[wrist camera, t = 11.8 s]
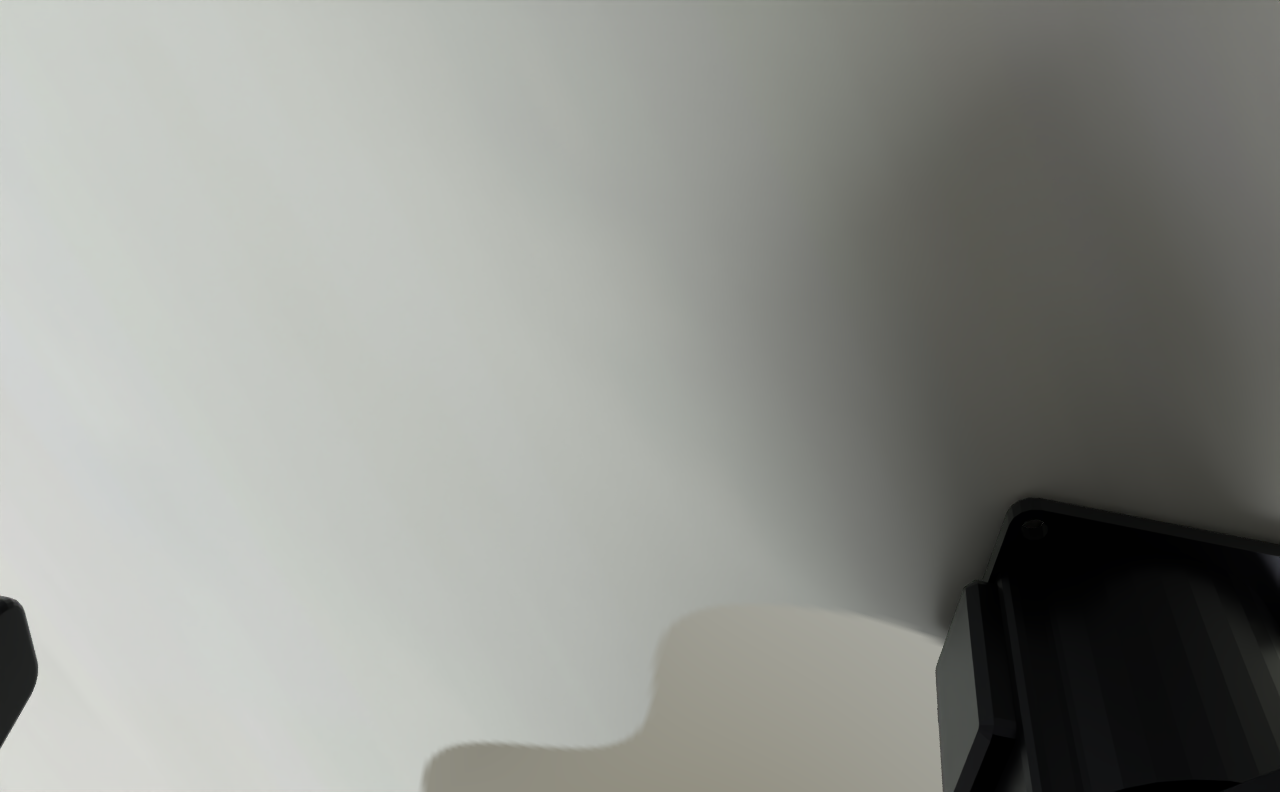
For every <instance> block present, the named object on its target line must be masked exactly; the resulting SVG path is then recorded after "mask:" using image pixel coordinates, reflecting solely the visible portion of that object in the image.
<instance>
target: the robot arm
mask: <svg viewBox="0 0 1280 792" xmlns="http://www.w3.org/2000/svg"><path fill="white" fill-rule="evenodd" d="M1029 520H1040V521H1042V522H1044V523H1043V524H1042V525H1041V526H1038V527H1036V528H1027V527H1025V526H1023V524H1024V523H1025V522H1027V521H1029ZM37 676H38V662H37V658H36V654H35V650H34V646H33V642H32V638H31V634H30V630H29V626H28V623H27V619H26V615H25V611H24V609H23V607H22V605H21V604H20V603H19V602H18V601H17V600H15V599H12V598H9V597H4V596H0V748H1V747H2V745H3V743H4V741H5V740H6V738H7V736H8V734H9V733H10V731H11V729H12V727H13V726H14V724H15V722H16V720H17V719H18V717H19V715H20V713H21V712H22V710H23V708H24V707H25V705H26V703H27V701H28V700H29V698H30V696H31V694H32V692H33V689H34V687H35V684H36V680H37ZM936 687H937V704H938V708H937V710H938V723H939V734H940V735H939V736H940V750H941V751H940V752H941V768H942V784H943V792H1280V545H1277V544H1272V543H1267V542H1262V541H1256V540H1251V539H1246V538H1241V537H1236V536H1231V535H1226V534H1221V533H1216V532H1210V531H1205V530H1200V529H1195V528H1190V527H1185V526H1180V525H1175V524H1169V523H1164V522H1159V521H1154V520H1149V519H1144V518H1139V517H1134V516H1128V515H1123V514H1118V513H1113V512H1108V511H1103V510H1098V509H1093V508H1088V507H1082V506H1077V505H1072V504H1067V503H1062V502H1057V501H1052V500H1047V499H1041V498H1026V499H1023V500H1019V501H1018V502H1016V503H1015V504H1013V505H1012V506H1011V507H1010V509H1009V510H1008V512H1007V514H1006V517H1005V519H1004V522H1003V525H1002V528H1001V530H1000V533H999V536H998V539H997V542H996V544H995V547H994V550H993V553H992V555H991V558H990V561H989V564H988V566H987V569H986V572H985V575H984V577H983V580H982V581H980V580H975V581H973V582H972V583H970V584H969V585H967V586H966V587H964V589H963V592H962V595H961V598H960V601H959V603H958V606H957V609H956V612H955V615H954V618H953V620H952V623H951V626H950V629H949V632H948V634H947V637H946V640H945V643H944V646H943V649H942V652H941V654H940V657H939V660H938V663H937V666H936Z"/></svg>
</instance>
